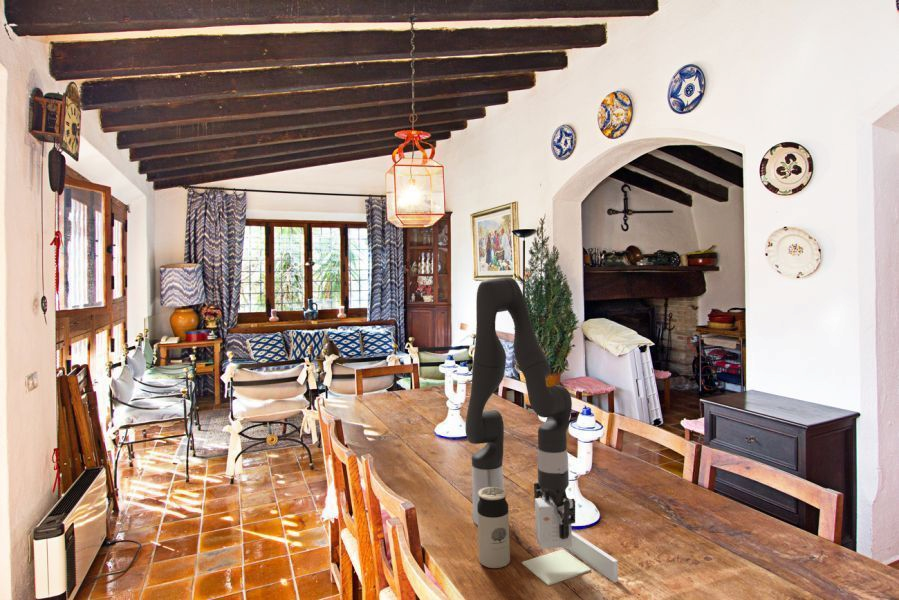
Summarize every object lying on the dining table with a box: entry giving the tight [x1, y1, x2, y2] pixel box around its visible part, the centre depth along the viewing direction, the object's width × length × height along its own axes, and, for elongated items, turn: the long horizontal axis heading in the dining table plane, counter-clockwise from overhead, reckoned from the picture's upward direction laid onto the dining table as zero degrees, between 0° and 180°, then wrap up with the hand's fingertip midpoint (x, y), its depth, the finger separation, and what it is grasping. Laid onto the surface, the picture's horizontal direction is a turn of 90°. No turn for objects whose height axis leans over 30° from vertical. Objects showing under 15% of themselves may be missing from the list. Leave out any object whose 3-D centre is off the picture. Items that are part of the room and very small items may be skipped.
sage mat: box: [521, 548, 592, 586], centre depth 130 cm, size 11×13×1 cm
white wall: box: [563, 530, 619, 583], centre depth 132 cm, size 20×1×5 cm, turn 26°
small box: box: [534, 497, 573, 550], centre depth 129 cm, size 8×6×10 cm
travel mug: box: [477, 487, 511, 569], centre depth 133 cm, size 8×8×18 cm
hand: (554, 531), depth 129 cm, fingers closed on small box, 7 cm apart
